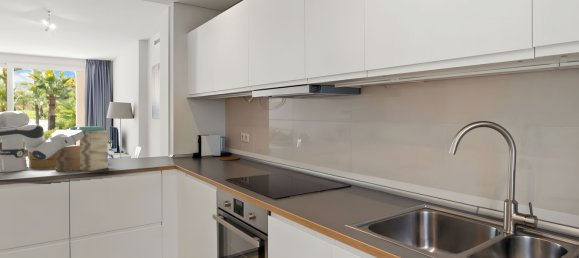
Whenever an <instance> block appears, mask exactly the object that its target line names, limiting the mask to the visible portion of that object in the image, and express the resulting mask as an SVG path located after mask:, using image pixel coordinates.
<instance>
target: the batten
mask: <svg viewBox="0 0 579 258" xmlns="http://www.w3.org/2000/svg"><path fill="white" fill-rule="evenodd" d="M76 128H80V129H81V130H82V131H102V130H105V129H104V128H105V127H104V125H96V126H95V125H92V126H70V127H69V129H70V130H76Z"/></svg>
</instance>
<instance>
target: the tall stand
mask: <svg viewBox="0 0 579 258" xmlns="http://www.w3.org/2000/svg"><path fill="white" fill-rule="evenodd" d="M83 133H84V136H83V137H82V138H81V139H80V140H79V145H80V169H79V170H80V171H97V170H103V169H108V167H109V164H108V163H109V159H108V158H109V157H108V155H109V153H108V149H109V148H108V130H105V129H104V130H102V131H83Z"/></svg>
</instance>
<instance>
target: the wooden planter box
mask: <svg viewBox="0 0 579 258" xmlns="http://www.w3.org/2000/svg"><path fill="white" fill-rule="evenodd" d="M27 154H28V155H27V157H28V158H27V159H28V169H35V170H42V169H47V168H48V169H56V157H55V154H54V155H52V156H51V157H49V158H47V159H45V160H38V159H36V158H35V157H34V156H33V155H32V153H31V152H29V151H27ZM48 169H47V170H48Z"/></svg>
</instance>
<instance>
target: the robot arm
mask: <svg viewBox="0 0 579 258" xmlns="http://www.w3.org/2000/svg"><path fill="white" fill-rule="evenodd" d="M44 133H45V131H44V127H43V126H42V125H40V124H38V123H34V122H33V123H30V117H29V115H28V114H27V113H25V112H22V111H19V110H8V111H7V110H5V111H1V112H0V143H1V149H0V173H8V172H21V171H25V170H28V169H29V166H28V165H27V157H26V155H25V154H26V151H27V152H31V153H32V155H33V156H34V157H35V158H36V159H38V160H45V159H47V158H49V157H51V156H52V155H54V154H55V153H56V152H57V151H58V150H60V149H62V148H63V147H66V146H71V145H76V142H78V141H80V139H81V138H82V137H83V136H84V133H83V131H82V130H81V129H80V128H76V130H70V128H68V129H57V130H55V131H54V132H52V133H51V134H50V135H49V137H48V138H47V139H46V138H45V135H44ZM24 146H25V147H24ZM25 149H26V151H25Z"/></svg>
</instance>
